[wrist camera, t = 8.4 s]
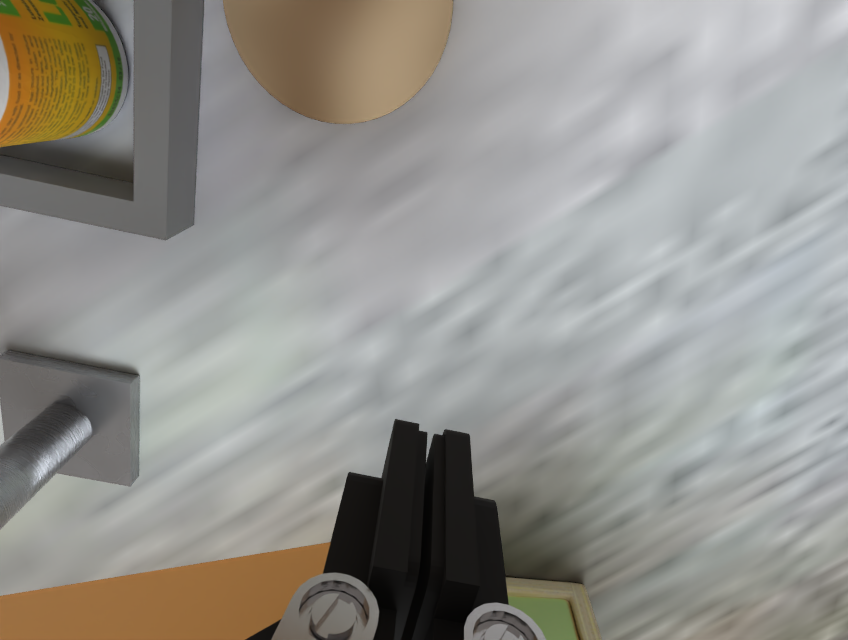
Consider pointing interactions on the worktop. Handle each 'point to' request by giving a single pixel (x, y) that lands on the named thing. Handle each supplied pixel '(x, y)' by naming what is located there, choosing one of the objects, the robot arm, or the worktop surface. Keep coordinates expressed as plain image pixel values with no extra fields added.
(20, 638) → the orange wooden bar
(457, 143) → the worktop surface
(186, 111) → the socket
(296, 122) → the worktop surface
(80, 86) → the supplement bottle
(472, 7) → the worktop surface
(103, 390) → the post
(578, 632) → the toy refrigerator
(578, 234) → the worktop surface
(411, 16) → the coaster
